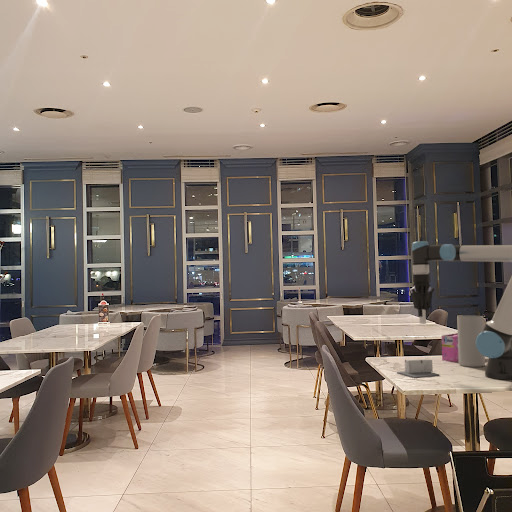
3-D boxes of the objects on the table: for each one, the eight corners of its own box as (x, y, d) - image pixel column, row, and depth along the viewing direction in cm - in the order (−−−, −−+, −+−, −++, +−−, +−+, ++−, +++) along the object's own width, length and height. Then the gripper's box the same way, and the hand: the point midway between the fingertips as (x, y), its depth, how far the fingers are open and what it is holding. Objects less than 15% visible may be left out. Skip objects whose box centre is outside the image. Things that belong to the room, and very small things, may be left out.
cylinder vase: (490, 366, 261) (488, 316, 262) (467, 367, 259) (465, 317, 260) (476, 362, 273) (474, 315, 274) (454, 363, 271) (452, 315, 272)
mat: (439, 375, 240) (439, 374, 240) (414, 378, 235) (414, 376, 235) (421, 371, 252) (421, 369, 252) (397, 373, 247) (396, 372, 247)
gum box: (464, 355, 298) (463, 332, 299) (477, 357, 292) (476, 333, 293) (441, 360, 283) (440, 335, 284) (455, 362, 277) (454, 336, 278)
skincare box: (433, 372, 245) (409, 373, 243) (428, 370, 249) (404, 372, 247) (432, 359, 245) (408, 360, 243) (427, 357, 250) (404, 359, 247)
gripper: (427, 273, 252) (428, 322, 251) (404, 274, 248) (406, 323, 247) (437, 273, 245) (439, 323, 244) (414, 273, 241) (416, 324, 240)
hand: (422, 323), depth 245 cm, fingers closed
